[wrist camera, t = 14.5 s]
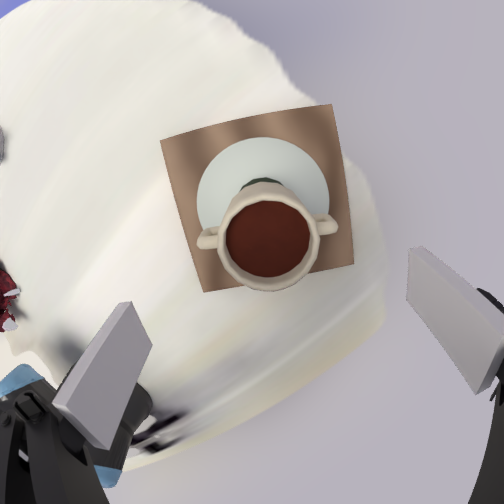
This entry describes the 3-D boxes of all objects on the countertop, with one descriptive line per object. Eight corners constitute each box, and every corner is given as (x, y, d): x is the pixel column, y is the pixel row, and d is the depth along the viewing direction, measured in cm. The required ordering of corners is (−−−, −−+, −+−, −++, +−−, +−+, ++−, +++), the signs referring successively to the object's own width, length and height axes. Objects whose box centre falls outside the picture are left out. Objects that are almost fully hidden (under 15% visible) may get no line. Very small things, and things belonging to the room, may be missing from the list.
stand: (205, 287, 37) (203, 292, 36) (163, 140, 30) (159, 140, 29) (350, 259, 36) (353, 264, 34) (328, 105, 28) (331, 104, 27)
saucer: (216, 272, 35) (215, 276, 34) (184, 154, 29) (182, 155, 29) (334, 249, 34) (336, 253, 33) (315, 127, 28) (317, 126, 27)
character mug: (220, 240, 32) (200, 299, 20) (210, 180, 30) (178, 205, 18) (314, 229, 32) (347, 282, 19) (308, 167, 29) (345, 184, 17)
